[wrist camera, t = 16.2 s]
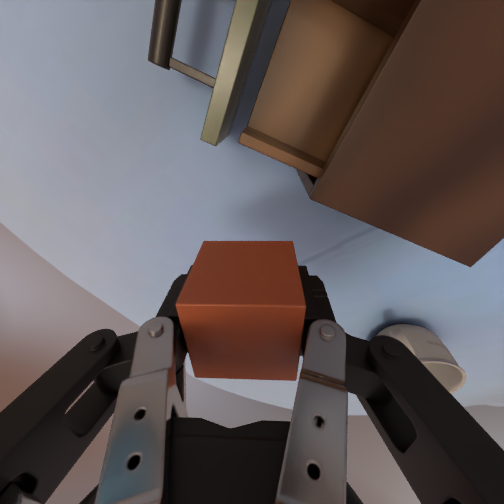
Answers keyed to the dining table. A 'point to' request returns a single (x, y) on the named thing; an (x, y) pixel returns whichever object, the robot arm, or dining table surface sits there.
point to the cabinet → (429, 134)
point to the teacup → (429, 353)
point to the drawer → (291, 72)
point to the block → (243, 311)
